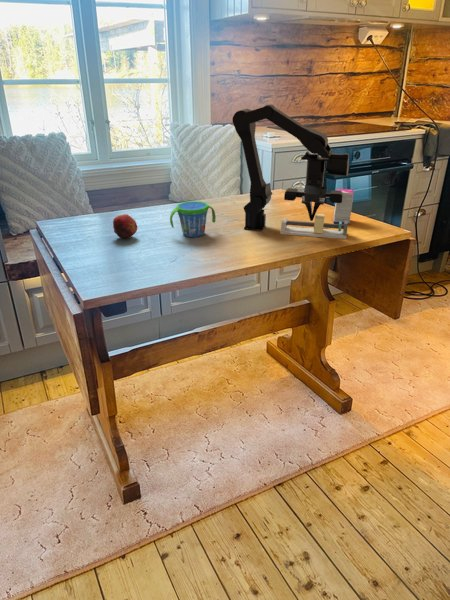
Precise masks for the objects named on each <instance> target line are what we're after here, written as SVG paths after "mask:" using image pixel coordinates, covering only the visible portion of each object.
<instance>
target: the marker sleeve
mask: <svg viewBox="0 0 450 600" xmlns="http://www.w3.org/2000/svg"><path fill="white" fill-rule="evenodd" d="M325 216H326V215H325V214H322V213H321V214H319V213H316V214H315V216H314V221H313V222H314V227H313V229H314V233H322V234H323V229H324V228H323V225H324V223H325Z"/></svg>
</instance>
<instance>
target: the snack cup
mask: <svg viewBox="0 0 450 600" xmlns="http://www.w3.org/2000/svg"><path fill="white" fill-rule="evenodd" d="M209 209H211V215H212V218H211V222H212V223H213V224H215V222H216V219H217V218H216V211H215V209H214V208H213V207H212V206H211V205H209V204H208V203H206V202H203V201H199V200H198V201H195V200H193V201H190V200H189V201H185V202H181V203H178V204H177V205H176V207H175V208H174V209H173V210H171V214H170V217H169V223H170V227H171V228H173V229H174V221H173V217H174V215H176V213H177V214H178V217H179V222H180V226H181V232H182V235H183V236H185V237H188V238H197V237H202V236H203V235H204V234H205V232H206V223H207V216H208V215H207V214H208V210H209Z"/></svg>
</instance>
